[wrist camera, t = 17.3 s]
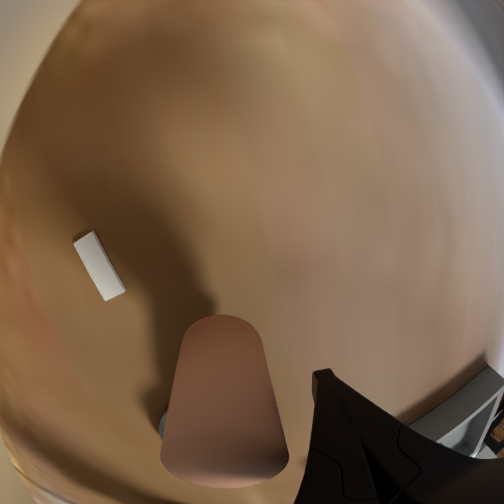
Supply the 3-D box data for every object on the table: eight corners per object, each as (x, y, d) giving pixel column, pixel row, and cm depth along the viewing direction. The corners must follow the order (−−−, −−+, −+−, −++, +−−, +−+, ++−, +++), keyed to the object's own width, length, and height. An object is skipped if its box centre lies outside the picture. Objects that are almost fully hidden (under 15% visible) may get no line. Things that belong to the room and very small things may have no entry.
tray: (353, 504, 21) (360, 520, 19) (327, 466, 17) (337, 493, 14) (467, 437, 21) (477, 450, 18) (488, 365, 17) (507, 381, 14)
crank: (250, 458, 14) (261, 542, 8) (186, 456, 14) (182, 541, 7) (274, 299, 11) (323, 424, 5) (172, 294, 11) (127, 420, 4)
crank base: (199, 463, 15) (198, 471, 15) (38, 268, 11) (30, 273, 10) (291, 438, 15) (293, 447, 14) (148, 198, 11) (142, 200, 10)
